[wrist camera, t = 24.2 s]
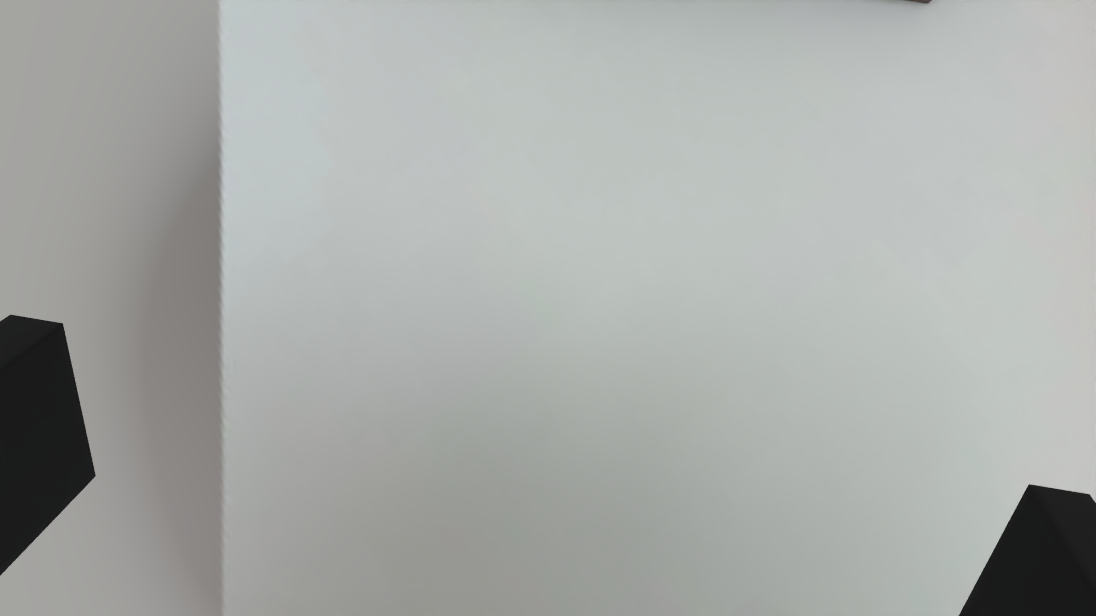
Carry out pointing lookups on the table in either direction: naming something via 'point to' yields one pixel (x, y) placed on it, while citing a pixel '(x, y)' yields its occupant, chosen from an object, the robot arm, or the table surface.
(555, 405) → the table surface
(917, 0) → the rack
